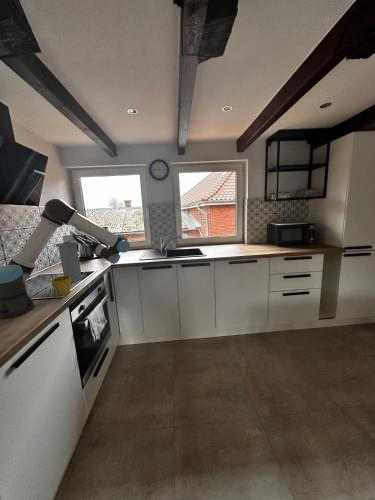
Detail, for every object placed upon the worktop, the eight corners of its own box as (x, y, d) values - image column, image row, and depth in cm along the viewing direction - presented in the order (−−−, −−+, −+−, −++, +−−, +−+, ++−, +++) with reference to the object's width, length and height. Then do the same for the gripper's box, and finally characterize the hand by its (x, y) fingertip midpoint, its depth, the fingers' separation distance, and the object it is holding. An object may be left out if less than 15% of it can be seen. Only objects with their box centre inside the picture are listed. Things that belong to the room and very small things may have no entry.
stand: (84, 277, 153) (78, 241, 147) (72, 282, 144) (66, 243, 138) (74, 277, 156) (67, 241, 151) (62, 281, 147) (55, 243, 141)
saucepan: (89, 241, 143) (88, 234, 142) (79, 244, 135) (78, 236, 134) (71, 241, 149) (70, 234, 148) (60, 243, 141) (59, 236, 140)
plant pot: (51, 298, 118) (48, 282, 116) (57, 291, 128) (54, 276, 126) (70, 295, 121) (68, 279, 119) (75, 289, 131) (72, 274, 129)
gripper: (88, 256, 130) (61, 238, 134) (106, 250, 145) (82, 234, 150) (91, 246, 127) (64, 228, 131) (109, 241, 143) (84, 226, 147)
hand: (73, 231), depth 140 cm, fingers open, 4 cm apart
